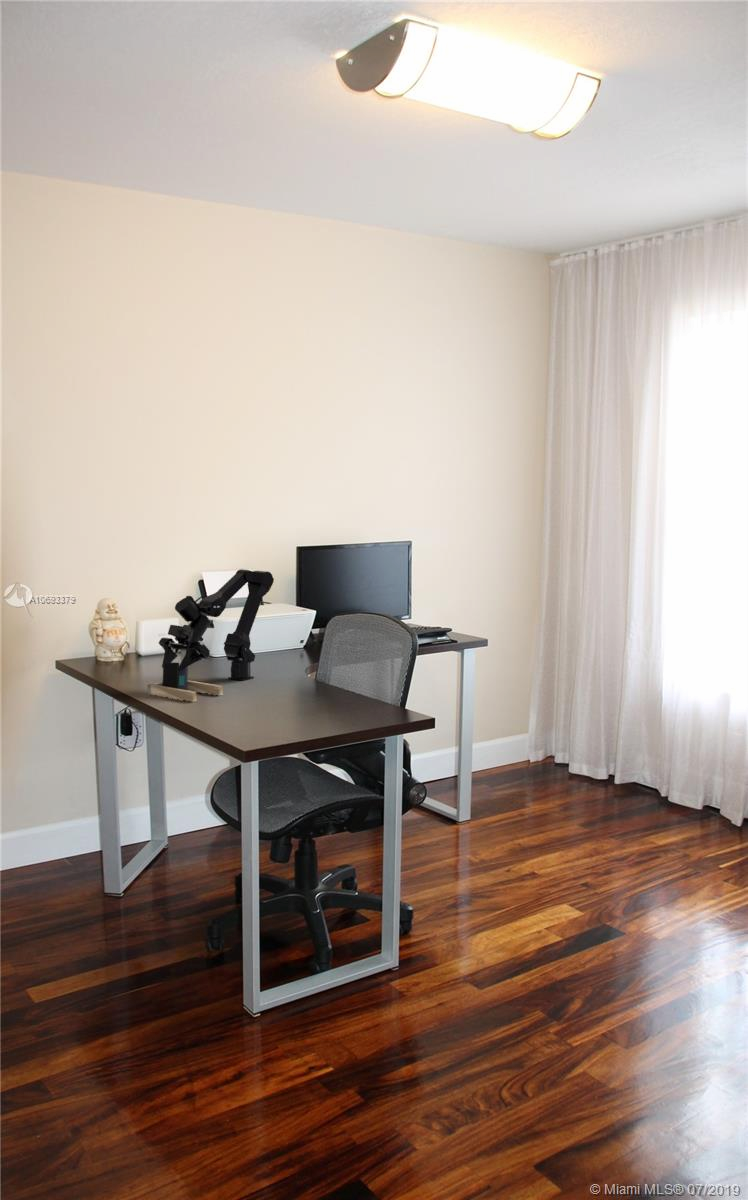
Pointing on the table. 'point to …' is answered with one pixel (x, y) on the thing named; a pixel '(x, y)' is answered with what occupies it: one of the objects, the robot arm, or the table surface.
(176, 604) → the robot arm
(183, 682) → the dark cylinder with backplate
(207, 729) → the table surface
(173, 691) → the channel
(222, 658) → the table surface
